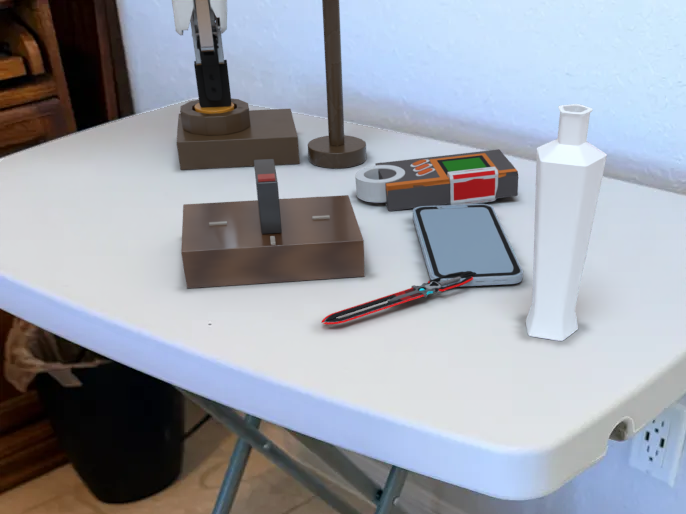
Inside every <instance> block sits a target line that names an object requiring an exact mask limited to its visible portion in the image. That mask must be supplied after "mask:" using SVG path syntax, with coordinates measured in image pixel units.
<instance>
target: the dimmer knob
mask: <svg viewBox="0 0 686 514" xmlns="http://www.w3.org/2000/svg"><path fill="white" fill-rule="evenodd" d="M253 169H254V176H255V177H254V178H255V188H256V198H257V199H256V200H258V209H259V217H260V225H261V233H262V234H271V233H282V228H281V216H280V204H279V199H280V194H279V182H278V175H277V172H276V165H275V164H274V160H273V159H262V160H254V166H253Z"/></svg>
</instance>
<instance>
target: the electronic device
mask: <svg viewBox="0 0 686 514" xmlns="http://www.w3.org/2000/svg"><path fill="white" fill-rule="evenodd" d="M354 177H355V191H356V197H357V198H358V199H359V200H361V201H364V202H366V203H367V202H368V203H384V204H385V206H386V208H387V210H388V212H393V211H402V210H411V209H415V208H416V207H421V206H441V205H466V204H484V203H490V202H496V200H497V199H503V198H509V197H518V195H519V171H518V170H517V168H516V167H515V166H514V164H513V163H512V161H510V160H509V159H508V158H507V156H506V155H505V154H504V152H502V150H501V149H490V150H482V151H481V150H480V151H473V152H471V151H470V152H465V153H455V154H446V155H438V156H430V157H429V156H428V157H419V158H412V159H402V160H395V161H394V160H393V161H385V162H384V161H383V162H377V163H376V162H375V165H370V166H366V167H362V168H361V169H358V170H356V172H355V174H354Z"/></svg>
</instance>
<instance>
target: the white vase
mask: <svg viewBox="0 0 686 514" xmlns="http://www.w3.org/2000/svg"><path fill="white" fill-rule="evenodd" d="M557 108H558V111H559V117H558V127H557V128H558V130H557V137H556V139H553V140H550V141H547V142H546V143H544V144H542V145H539V146H537V147H536V159H535V161H536V162H535V163H536V164H535V195H534V197H535V199H534V225H533V226H534V227H533V228H534V231H533V261H532V262H533V266H532V292H531V293H532V294H531V295H532V297H531V298H532V299H531V300H532V302H531V305H530V308H529V310H528V313H527V316H526V318H525V326H526V331H527V335H528V336H529V337H533V338H539V339H546V340H552V341H557V342H558V341H559V342H562V341H565V340H566V339H567V338H569V337H570V336H571V335H573V334H574V333H575V332H576V331H578V329H579V325H578V318H577V311H576V308H577V303H578V298H579V293H580V292H579V291H580V288H581V283H582V279H583V273H584V269H585V263H586V258H587V253H588V250H589V245H590V239H591V235H592V230H593V225H594V220H595V215H596V210H597V205H598V202H599V196H600V191H601V186H602V181H603V178H604V177H603V176H604V173H605V167H606V162H607V158H608V154H607V153H606V152H604V151H603V150H601V149H599V148H598V147H597V146H595V145H593V143H591V142H589V141H588V132H589V124H590V117H591V113H592V112H593V110H594V109H593V108H592V107H590V106H586V105H583V104H579V103H572V104H561V105H558V107H557Z"/></svg>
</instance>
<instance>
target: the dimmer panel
mask: <svg viewBox="0 0 686 514" xmlns="http://www.w3.org/2000/svg"><path fill="white" fill-rule="evenodd" d="M279 204H280V216H281V228H282V233H271V234H262V233H261V225H260V217H259V209H258V199H256V200H239V201H238V200H237V201H236V200H235V201H218V202H203V203H202V202H201V203H185V204H183V206H182V225H181V227H182V228H181V248H180V249H181V250H180V253H181V260H182V267H183V272H184V279H185V285H186V289H197V288H212V287H213V288H214V287H228V286H241V285H242V286H243V285H255V284H271V283H284V282H285V283H286V282H288V283H289V282H300V281H301V282H302V281H316V280H330V279H331V280H332V279H346V278H360V277H361V278H362V277H365V276H366V275H365V245H364V244H365V243H364V242H365V241H364V237H363V235H362V231H361V228H360V226H359V222H358V220H357V218H356V213H355V210H354V208H353V204H352V201H351V199H350V196H349V195H348V194H346V195H345V194H344V195H328V196H327V195H326V196H308V197H291V198H279Z"/></svg>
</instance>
